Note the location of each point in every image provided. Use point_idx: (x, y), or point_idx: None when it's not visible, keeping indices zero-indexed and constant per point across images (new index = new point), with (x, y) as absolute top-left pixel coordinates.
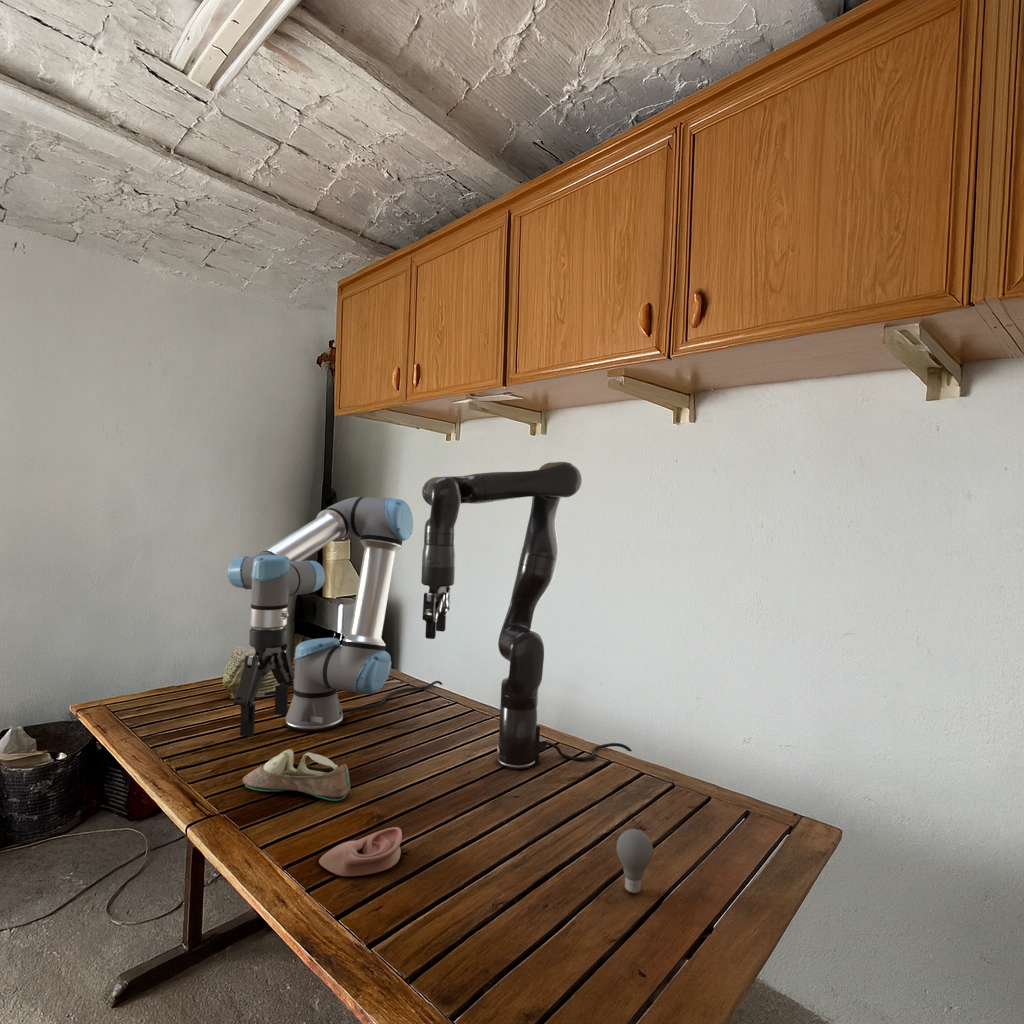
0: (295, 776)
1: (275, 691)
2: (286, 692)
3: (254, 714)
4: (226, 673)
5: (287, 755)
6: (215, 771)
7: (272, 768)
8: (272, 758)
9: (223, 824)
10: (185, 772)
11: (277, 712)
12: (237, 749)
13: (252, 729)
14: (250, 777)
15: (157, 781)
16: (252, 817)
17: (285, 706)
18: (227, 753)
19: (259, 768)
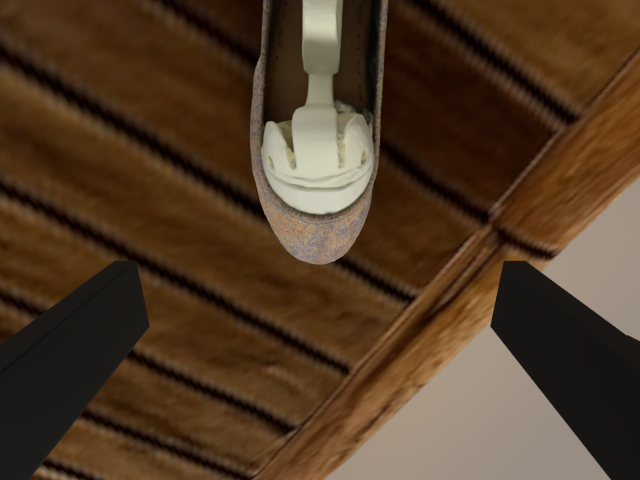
0: (383, 47)
1: (45, 456)
2: (8, 365)
3: (610, 340)
4: None
5: (337, 117)
6: (273, 356)
7: (371, 159)
8: (321, 191)
9: (546, 180)
10: (298, 408)
11: (138, 317)
12: (135, 378)
13: (549, 281)
14: (352, 233)
15: (355, 429)
16: (505, 125)
17: (102, 292)
18: (168, 386)
19: (339, 221)
